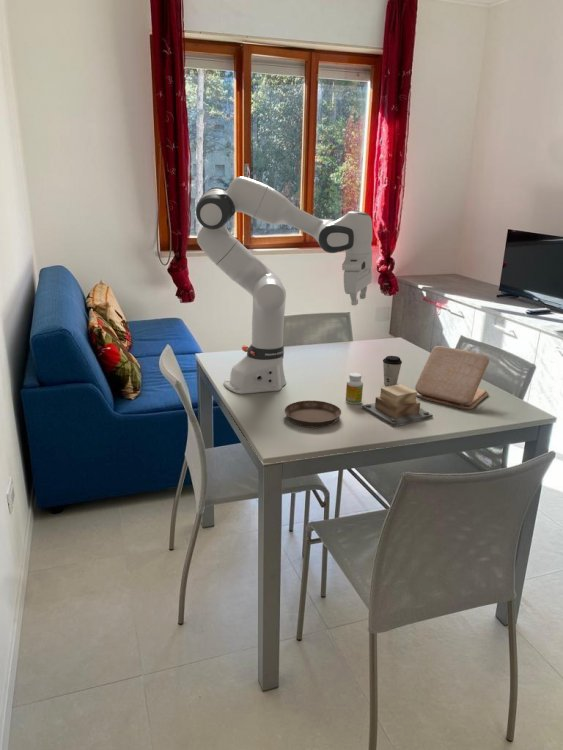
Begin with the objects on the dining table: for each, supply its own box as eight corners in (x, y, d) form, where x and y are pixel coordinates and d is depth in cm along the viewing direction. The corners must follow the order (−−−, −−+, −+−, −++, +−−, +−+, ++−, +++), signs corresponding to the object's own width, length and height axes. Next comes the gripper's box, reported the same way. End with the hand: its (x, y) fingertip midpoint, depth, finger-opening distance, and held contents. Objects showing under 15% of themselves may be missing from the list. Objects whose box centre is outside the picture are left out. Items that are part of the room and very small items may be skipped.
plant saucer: (272, 419, 182) (272, 410, 181) (308, 404, 195) (308, 395, 194) (316, 436, 171) (317, 426, 170) (352, 419, 184) (352, 410, 183)
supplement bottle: (357, 406, 194) (359, 378, 191) (342, 402, 196) (344, 375, 193) (364, 401, 198) (366, 374, 195) (349, 397, 201) (351, 370, 198)
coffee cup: (387, 387, 211) (389, 361, 208) (377, 381, 217) (379, 355, 214) (403, 385, 214) (406, 359, 210) (393, 379, 220) (395, 354, 216)
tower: (392, 426, 179) (395, 402, 176) (361, 408, 192) (363, 385, 189) (432, 417, 186) (435, 394, 183) (399, 400, 199) (402, 378, 197)
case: (411, 397, 203) (416, 353, 198) (436, 381, 219) (441, 340, 214) (468, 413, 192) (476, 366, 186) (490, 395, 208) (497, 352, 202)
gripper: (358, 255, 206) (358, 294, 210) (340, 266, 188) (340, 308, 193) (376, 256, 203) (375, 295, 208) (359, 266, 186) (359, 309, 190)
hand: (358, 301), depth 200 cm, fingers open, 8 cm apart
